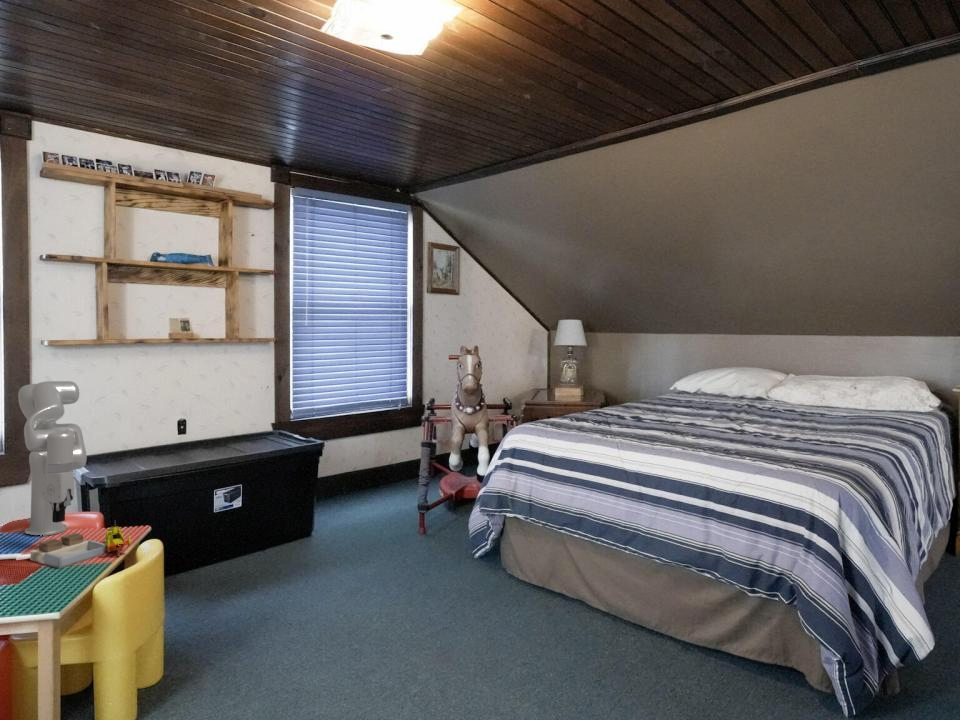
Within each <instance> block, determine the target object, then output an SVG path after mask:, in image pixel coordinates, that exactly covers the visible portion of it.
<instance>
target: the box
mask: <svg viewBox="0 0 960 720" xmlns="http://www.w3.org/2000/svg"><path fill="white" fill-rule="evenodd" d="M87 541H88V550H84V551H81V552H78V553H74V554H71V555H68V556H64V557H61V556H57V555H54V554H50V553H44V564H43V565H45V566H48V567H49V566H50V567H51V568H52V567H53V568H55V569H59V570H60V569H62V568H66V567H68V566H72V565H75V564H78V563H81V562H84V561H88V560H91V559H94V558H97V557H96V556H98V557H100V556H99V555H101V554H104V553H105V554H106V546H105V543H103V542H99V541H95V540H91V539H89V540H87ZM105 554H104V555H105ZM101 556H102V555H101ZM93 557H94V558H93Z"/></svg>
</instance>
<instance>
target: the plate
mask: <svg viewBox="0 0 960 720" xmlns="http://www.w3.org/2000/svg"><path fill="white" fill-rule="evenodd" d="M88 541H89V540H86V539H83V542H82V543H79V544H75V545H72V546H67V545H63V544H62V549H58V550H55V551H51V552H48V553H50V554H54V555H57V556H61V557H64V556H68V555H71V554H74V553H78V552H81V551H84V550H88ZM44 553H47V552H44V551H40V550H39V548H37V549H36V548H35V549H33V550H30V561H32V562H36V563H39V564H42V565H45V564H44Z"/></svg>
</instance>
